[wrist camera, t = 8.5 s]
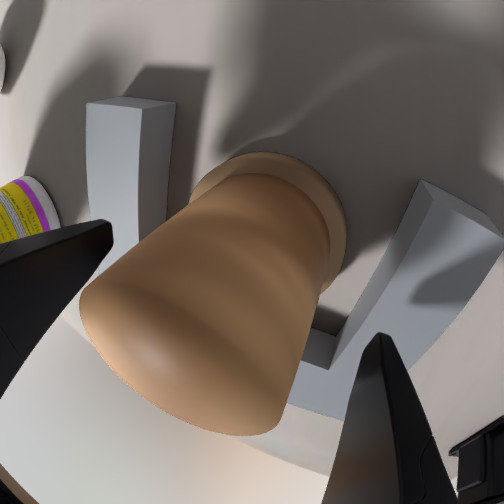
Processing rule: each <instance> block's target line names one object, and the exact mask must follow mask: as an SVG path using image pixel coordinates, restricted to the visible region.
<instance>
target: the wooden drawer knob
mask: <svg viewBox="0 0 504 504" xmlns="http://www.w3.org/2000/svg"><path fill="white" fill-rule="evenodd" d="M346 240H347V224H346V218H345V214H344V210H343V207H342V205H341V202H340V200H339V198H338V196H337V195H336V193H335V191H334V190H333V188H332V187H331V186H330V184H329V183H328V182H327V181H326V180H325V179H324V178H323V177H322V176H321V175H320V174H319V173H318V172H317V171H315V170H314V169H313V168H311V167H310V166H309V165H307V164H305V163H303V162H302V161H300V160H298V159H295V158H293V157H290V156H288V155H284V154H280V153H274V152H252V153H246V154H243V155H240V156H237V157H234V158H232V159H230V160H228V161H227V162H225V163H223V164H221V165H219V166H218V167H216V168H214V169H213V170H212V171H210V172H209V173H208V174H206V175H205V176H204V177H203V178H202V180H201V181H200V182H199V183H198V185H197V186H196V188H195V189H194V191H193V193H192V195H191V198H190V201H189V204H188V205H187V206H186V207H185V208H183V209H182V210H181V211H179V212H178V213H177V214H175V215H174V216H173V217H171V218H170V219H169V220H167V221H166V222H165V223H163V224H162V225H161V226H159V227H158V228H157V229H155V230H154V231H153V232H152V233H150V234H149V235H148V236H147V237H145V238H144V239H143V240H141V241H140V242H139V243H138V244H136V245H135V246H134V247H133V248H131V249H130V250H129V251H128V252H127V253H125V254H124V255H123V256H122V257H120V258H119V259H118V260H117V261H116V262H114V263H113V264H112V265H111V266H110V267H109V268H107V269H106V270H105V271H104V272H103V273H101V274H100V275H99V276H98V277H97V278H96V279H95V280H93V281H92V282H91V283H90V284H89V285H88V286H87V287H85V288H84V290H83V292H82V293H81V296H80V300H79V309H80V316H81V319H82V323H83V325H84V328H85V330H86V333H87V334H88V336H89V338H90V340H91V342H92V344H93V345H94V347H95V348H96V350H97V351H98V353H99V354H100V355H101V357H102V358H103V359H104V360H105V362H106V363H107V364H108V365H109V366H110V367H111V369H112V370H113V371H114V372H115V373H116V374H117V375H118V376H119V377H120V378H121V379H122V380H123V381H124V382H125V383H126V384H128V385H129V386H130V387H131V388H132V389H133V390H135V391H136V392H137V393H138V394H140V395H141V396H142V397H144V398H145V399H146V400H148V401H149V402H151V403H152V404H154V405H155V406H157V407H158V408H160V409H162V410H163V411H165V412H167V413H169V414H170V415H172V416H175V417H176V418H178V419H180V420H183V421H185V422H187V423H189V424H192V425H195V426H198V427H200V428H203V429H206V430H209V431H213V432H217V433H221V434H227V435H235V436H253V435H259V434H263V433H266V432H268V431H270V430H272V429H273V428H274V427H276V426H277V424H278V423H279V421H280V419H281V417H282V414H283V411H284V408H285V406H286V403H287V400H288V397H289V394H290V391H291V388H292V385H293V382H294V379H295V376H296V373H297V370H298V367H299V364H300V361H301V358H302V354H303V351H304V348H305V345H306V341H307V338H308V335H309V331H310V328H311V324H312V321H313V317H314V314H315V310H316V307H317V303H318V299H319V295H320V294H321V293H322V292H323V291H325V290H326V289H327V288H328V287H329V286H330V285H331V283H332V282H333V281H334V280H335V278H336V276H337V275H338V273H339V271H340V268H341V266H342V263H343V258H344V254H345V247H346Z"/></svg>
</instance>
